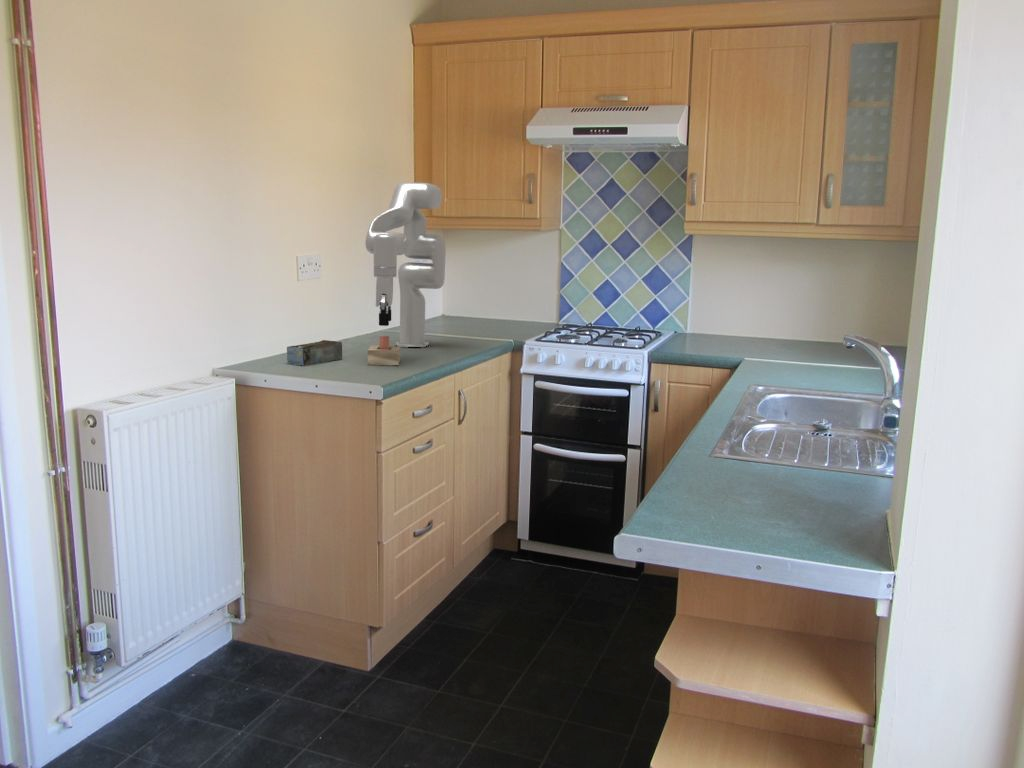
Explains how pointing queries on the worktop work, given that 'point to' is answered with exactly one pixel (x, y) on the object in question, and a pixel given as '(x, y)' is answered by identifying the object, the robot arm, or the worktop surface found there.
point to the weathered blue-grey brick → (314, 352)
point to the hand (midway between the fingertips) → (385, 323)
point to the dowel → (384, 342)
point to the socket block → (384, 355)
